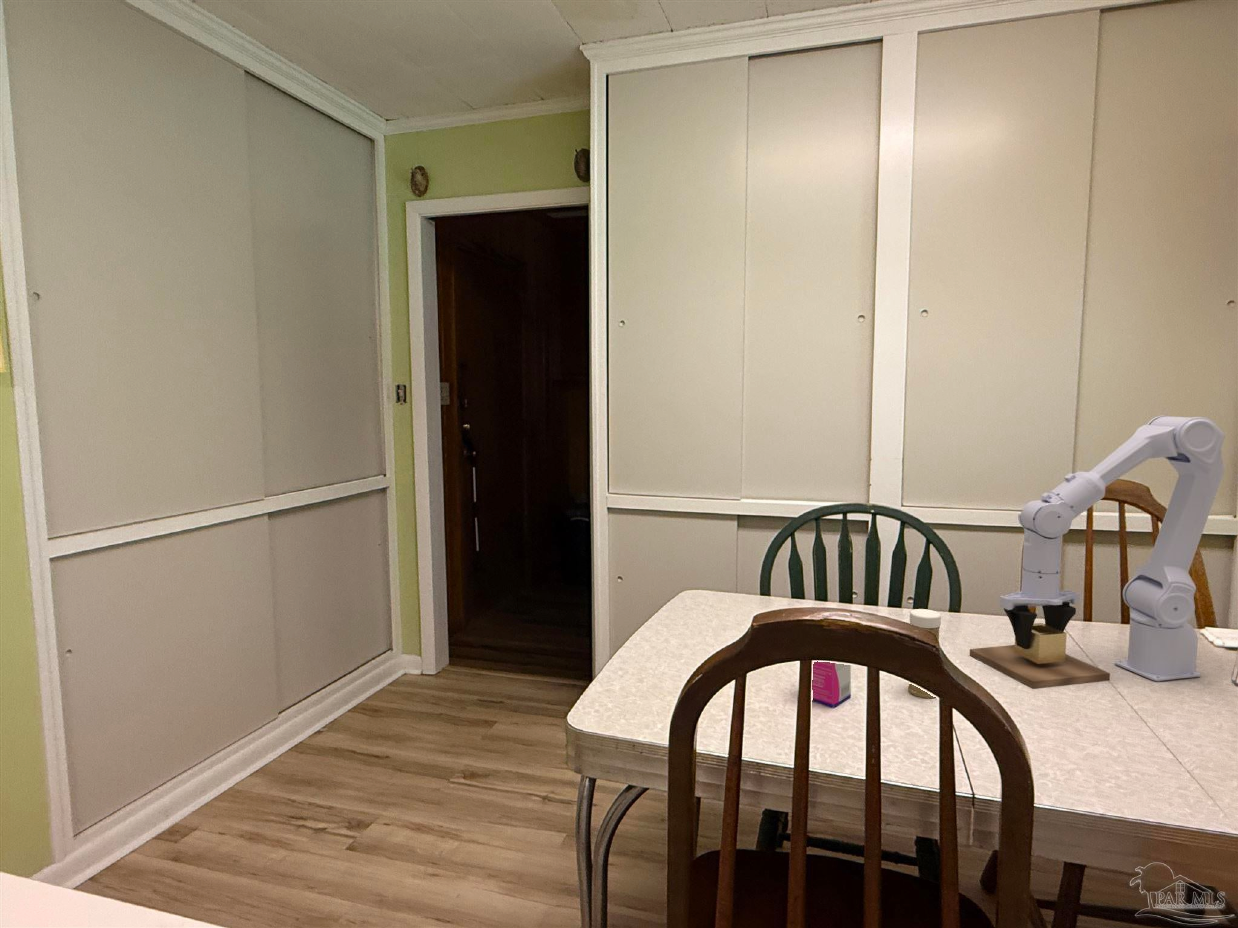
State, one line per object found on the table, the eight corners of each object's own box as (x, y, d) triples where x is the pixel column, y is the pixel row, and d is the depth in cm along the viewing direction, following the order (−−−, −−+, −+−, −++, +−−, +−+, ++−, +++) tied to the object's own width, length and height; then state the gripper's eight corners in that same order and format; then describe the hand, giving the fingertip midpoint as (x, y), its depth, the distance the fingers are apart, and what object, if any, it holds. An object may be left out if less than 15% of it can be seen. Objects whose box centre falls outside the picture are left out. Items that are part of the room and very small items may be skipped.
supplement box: (818, 686, 116) (819, 619, 115) (851, 697, 112) (853, 627, 111) (799, 697, 112) (800, 627, 111) (833, 708, 108) (835, 636, 107)
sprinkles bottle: (943, 694, 113) (946, 613, 111) (927, 701, 110) (930, 618, 109) (918, 684, 116) (920, 606, 115) (901, 691, 114) (903, 611, 113)
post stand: (1039, 648, 132) (1040, 622, 132) (1109, 680, 118) (1111, 651, 117) (969, 655, 129) (970, 629, 129) (1032, 688, 115) (1034, 658, 114)
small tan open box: (1040, 649, 126) (1041, 622, 125) (1064, 661, 121) (1066, 632, 120) (1014, 652, 125) (1015, 625, 124) (1038, 663, 120) (1039, 635, 119)
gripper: (1022, 578, 116) (1019, 657, 118) (1096, 573, 119) (1091, 650, 121) (992, 568, 123) (988, 642, 125) (1062, 563, 126) (1058, 636, 127)
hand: (1037, 645), depth 123 cm, fingers closed on small tan open box, 5 cm apart
